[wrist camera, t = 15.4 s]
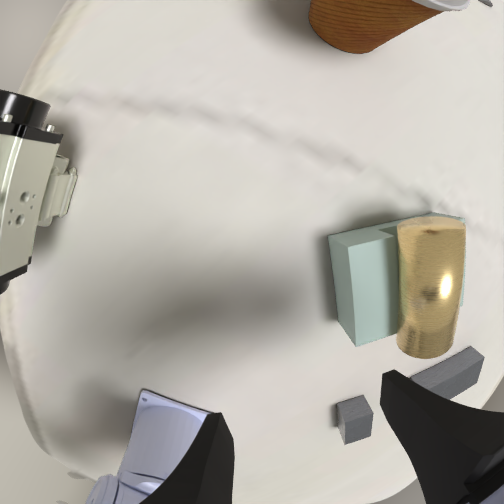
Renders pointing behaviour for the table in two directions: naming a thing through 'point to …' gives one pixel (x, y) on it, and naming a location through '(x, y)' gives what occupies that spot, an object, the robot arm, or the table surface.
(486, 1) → the half round rod
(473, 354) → the grey rectangular blocks
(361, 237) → the v block
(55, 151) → the pneumatic valve
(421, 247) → the gold rounded piece
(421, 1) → the disposable coffee cup
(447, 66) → the table surface
